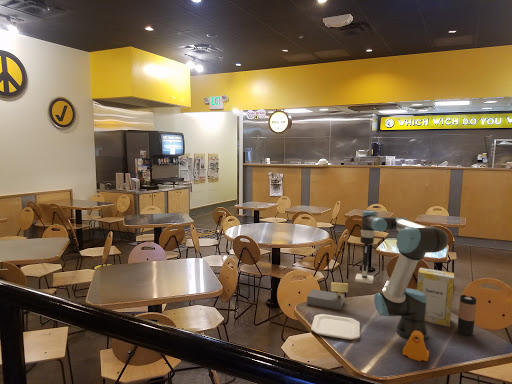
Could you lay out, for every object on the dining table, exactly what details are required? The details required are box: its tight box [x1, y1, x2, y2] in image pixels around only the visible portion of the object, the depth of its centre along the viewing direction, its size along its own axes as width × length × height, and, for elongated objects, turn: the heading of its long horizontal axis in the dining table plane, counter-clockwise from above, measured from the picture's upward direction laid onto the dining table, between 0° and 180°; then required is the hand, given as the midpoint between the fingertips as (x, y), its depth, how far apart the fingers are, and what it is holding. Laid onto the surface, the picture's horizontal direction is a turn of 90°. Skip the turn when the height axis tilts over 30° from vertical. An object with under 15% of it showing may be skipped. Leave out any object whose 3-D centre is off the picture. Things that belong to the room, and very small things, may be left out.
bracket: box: [402, 331, 430, 362], centre depth 172 cm, size 11×7×12 cm, turn 60°
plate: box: [310, 313, 361, 341], centre depth 197 cm, size 25×25×2 cm
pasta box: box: [416, 267, 455, 328], centre depth 213 cm, size 18×10×28 cm, turn 62°
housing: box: [306, 288, 345, 311], centre depth 232 cm, size 14×21×5 cm, turn 69°
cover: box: [354, 261, 375, 285], centre depth 221 cm, size 11×10×12 cm
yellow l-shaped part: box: [330, 281, 349, 298], centre depth 232 cm, size 10×10×9 cm
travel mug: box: [457, 294, 477, 337], centre depth 197 cm, size 8×8×20 cm
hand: (364, 274), depth 221 cm, fingers closed on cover, 3 cm apart
